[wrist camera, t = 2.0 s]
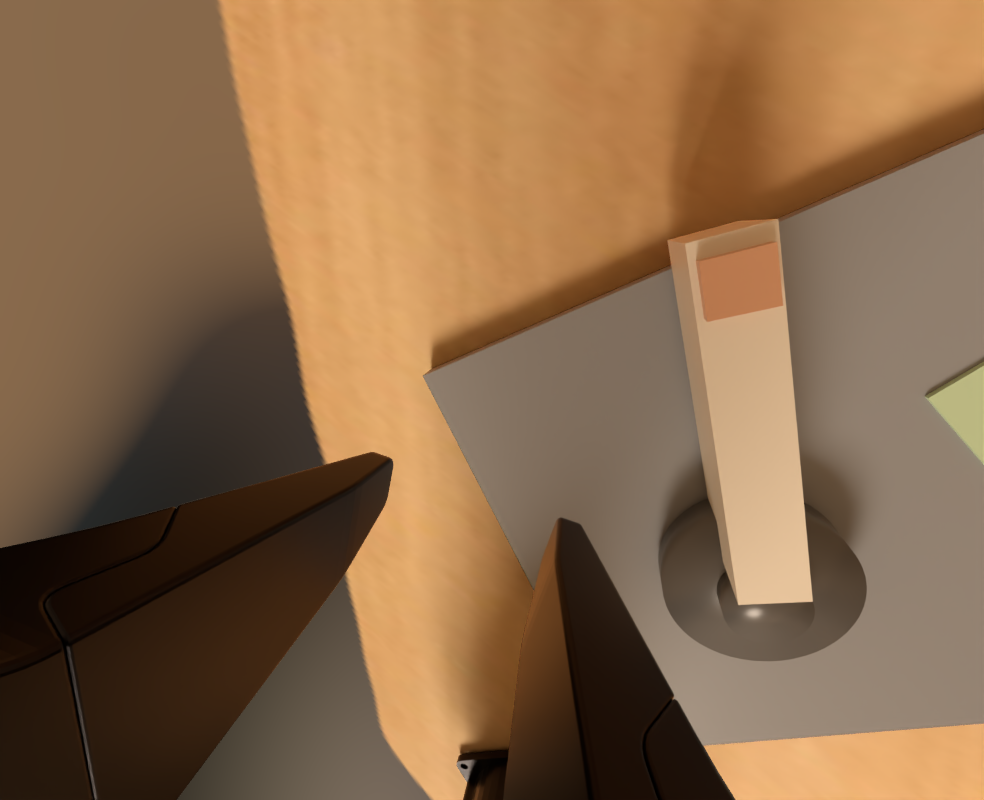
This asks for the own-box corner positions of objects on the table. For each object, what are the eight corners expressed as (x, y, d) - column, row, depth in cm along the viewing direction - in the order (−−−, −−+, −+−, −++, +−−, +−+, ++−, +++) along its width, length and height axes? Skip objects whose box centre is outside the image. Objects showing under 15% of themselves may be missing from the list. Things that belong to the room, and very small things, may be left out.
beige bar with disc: (850, 627, 19) (912, 729, 15) (671, 632, 21) (687, 723, 17) (822, 198, 14) (904, 186, 10) (596, 259, 16) (593, 268, 12)
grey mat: (617, 733, 26) (617, 756, 25) (431, 369, 21) (421, 377, 20) (1186, 680, 18) (1224, 709, 17) (1113, 72, 13) (1161, 58, 12)
